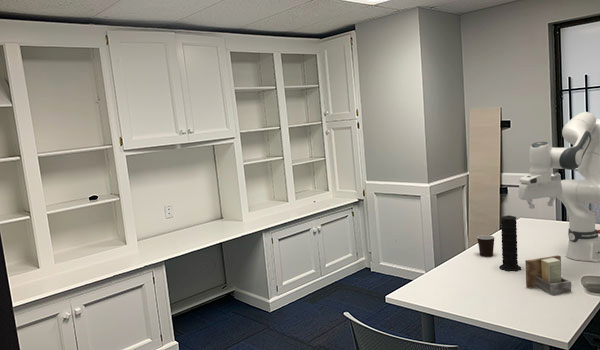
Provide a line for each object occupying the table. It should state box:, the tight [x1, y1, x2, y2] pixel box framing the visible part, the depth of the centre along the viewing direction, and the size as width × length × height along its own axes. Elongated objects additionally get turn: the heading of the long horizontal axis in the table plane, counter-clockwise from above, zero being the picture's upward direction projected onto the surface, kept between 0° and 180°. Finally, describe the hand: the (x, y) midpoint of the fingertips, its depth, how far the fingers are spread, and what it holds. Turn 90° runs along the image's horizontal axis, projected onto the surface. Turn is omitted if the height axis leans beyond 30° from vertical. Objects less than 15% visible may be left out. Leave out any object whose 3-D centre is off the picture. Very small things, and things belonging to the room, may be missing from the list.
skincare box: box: [541, 258, 562, 284], centre depth 195 cm, size 6×4×12 cm
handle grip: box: [498, 214, 522, 272], centre depth 223 cm, size 10×26×10 cm
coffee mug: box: [476, 234, 496, 258], centre depth 247 cm, size 12×9×10 cm
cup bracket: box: [525, 254, 572, 296], centre depth 196 cm, size 16×12×12 cm
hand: (541, 207), depth 212 cm, fingers open, 8 cm apart
